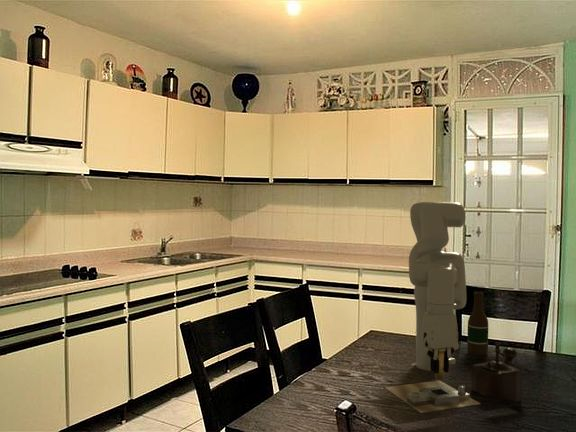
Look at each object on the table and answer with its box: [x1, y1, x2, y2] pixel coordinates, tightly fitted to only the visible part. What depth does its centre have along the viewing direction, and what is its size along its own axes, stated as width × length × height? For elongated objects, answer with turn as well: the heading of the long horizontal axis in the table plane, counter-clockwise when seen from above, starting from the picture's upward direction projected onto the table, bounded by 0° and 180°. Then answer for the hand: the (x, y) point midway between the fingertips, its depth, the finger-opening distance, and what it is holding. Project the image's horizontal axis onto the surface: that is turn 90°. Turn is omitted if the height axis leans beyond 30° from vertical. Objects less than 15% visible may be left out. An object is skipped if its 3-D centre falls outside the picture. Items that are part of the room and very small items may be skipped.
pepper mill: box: [471, 343, 523, 404], centre depth 155 cm, size 16×11×18 cm
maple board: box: [385, 379, 482, 414], centre depth 156 cm, size 20×20×2 cm
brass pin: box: [434, 348, 446, 381], centre depth 151 cm, size 3×3×9 cm
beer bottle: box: [466, 291, 489, 357], centre depth 203 cm, size 8×8×24 cm
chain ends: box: [407, 385, 471, 407], centre depth 152 cm, size 19×8×3 cm, turn 109°
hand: (439, 370), depth 151 cm, fingers closed on brass pin, 2 cm apart
